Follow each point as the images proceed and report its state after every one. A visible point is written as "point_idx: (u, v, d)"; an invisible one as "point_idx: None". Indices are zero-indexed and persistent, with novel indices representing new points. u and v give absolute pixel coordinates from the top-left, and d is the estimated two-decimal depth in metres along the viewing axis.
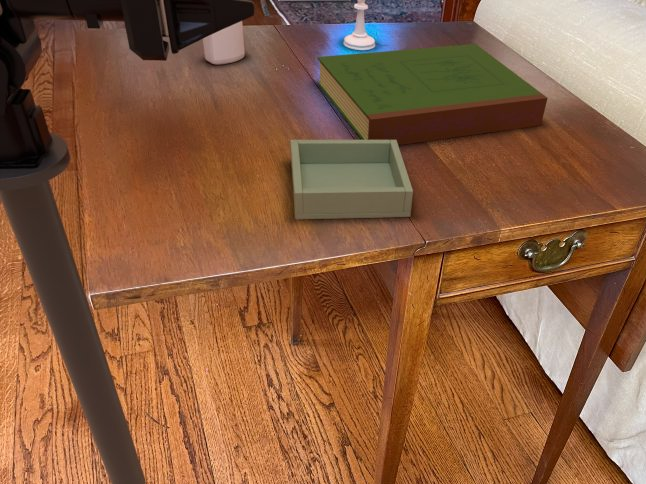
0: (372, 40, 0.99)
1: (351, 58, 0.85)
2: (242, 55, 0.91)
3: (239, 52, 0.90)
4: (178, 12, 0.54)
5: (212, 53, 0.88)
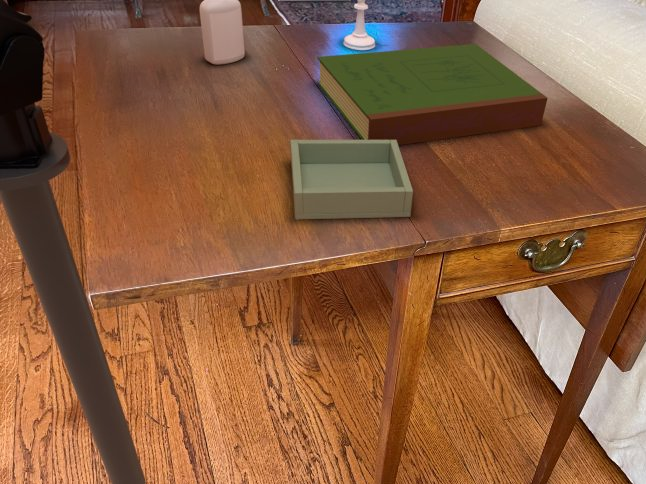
0: (372, 40, 0.99)
1: (351, 58, 0.85)
2: (242, 55, 0.91)
3: (239, 52, 0.90)
4: None
5: (212, 53, 0.88)
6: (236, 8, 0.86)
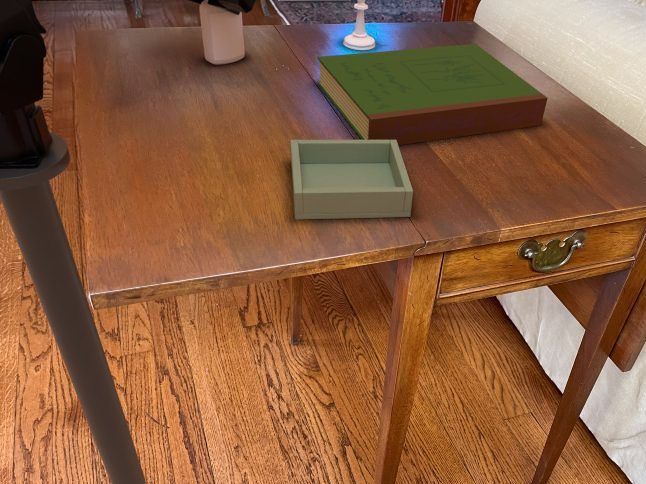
0: (372, 40, 0.99)
1: (351, 58, 0.85)
2: (242, 55, 0.91)
3: (239, 52, 0.90)
4: None
5: (212, 53, 0.88)
6: None
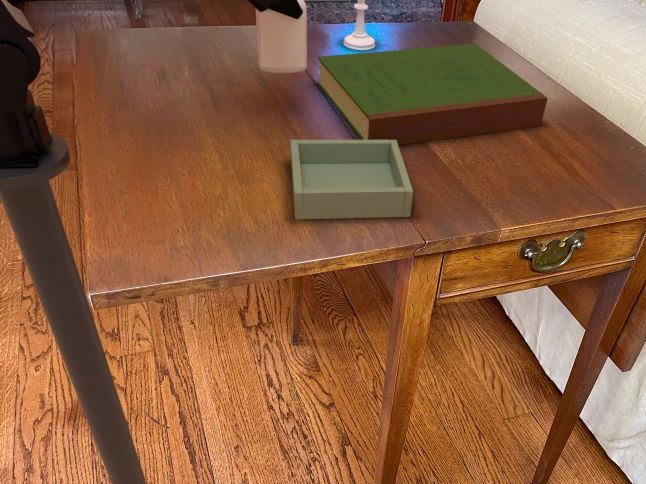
0: (372, 40, 0.99)
1: (351, 57, 0.85)
2: (301, 68, 0.75)
3: (295, 63, 0.74)
4: None
5: (260, 57, 0.73)
6: None
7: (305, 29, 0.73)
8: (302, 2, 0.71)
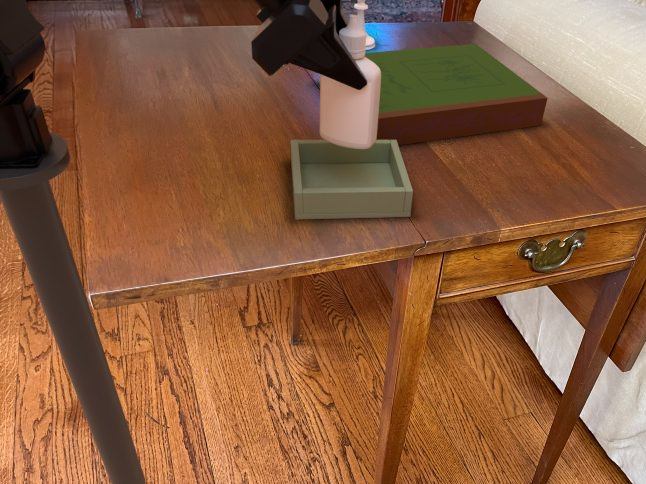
0: (372, 40, 0.99)
1: None
2: (362, 145, 0.62)
3: (354, 138, 0.62)
4: None
5: (320, 122, 0.63)
6: None
7: (371, 103, 0.60)
8: (371, 72, 0.58)
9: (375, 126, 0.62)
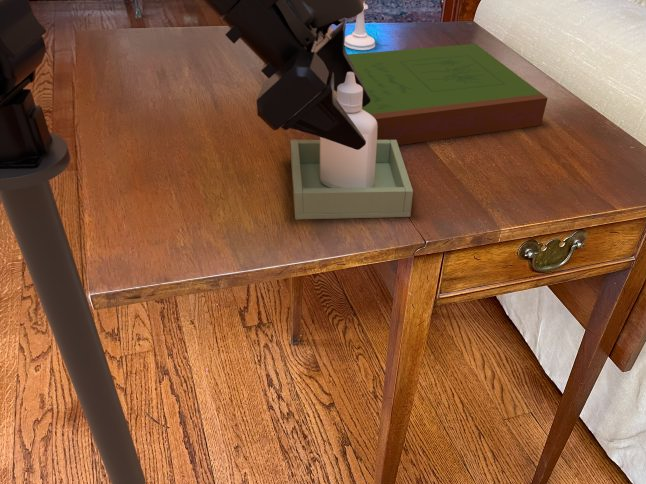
0: (372, 40, 0.99)
1: (351, 58, 0.85)
2: None
3: (353, 185, 0.65)
4: None
5: (320, 169, 0.66)
6: None
7: (368, 152, 0.63)
8: (368, 124, 0.61)
9: (372, 172, 0.65)
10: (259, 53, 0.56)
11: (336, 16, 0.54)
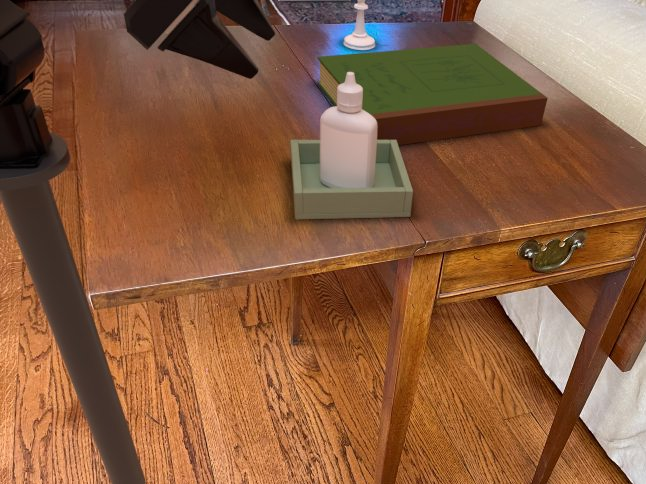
0: (372, 40, 0.99)
1: (351, 58, 0.85)
2: None
3: (353, 185, 0.65)
4: (192, 23, 0.51)
5: (320, 169, 0.66)
6: (358, 132, 0.61)
7: (368, 152, 0.63)
8: (368, 124, 0.61)
9: (372, 172, 0.65)
10: None
11: None
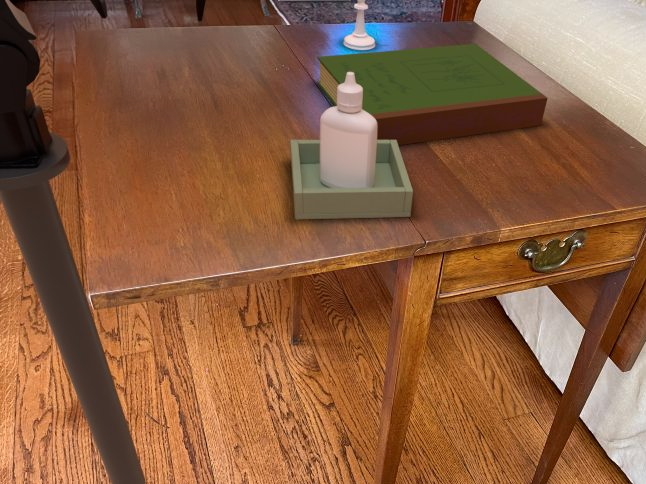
0: (372, 40, 0.99)
1: (351, 58, 0.85)
2: None
3: (353, 185, 0.65)
4: None
5: (320, 169, 0.66)
6: (358, 132, 0.61)
7: (368, 152, 0.63)
8: (368, 124, 0.61)
9: (372, 172, 0.65)
10: None
11: None
